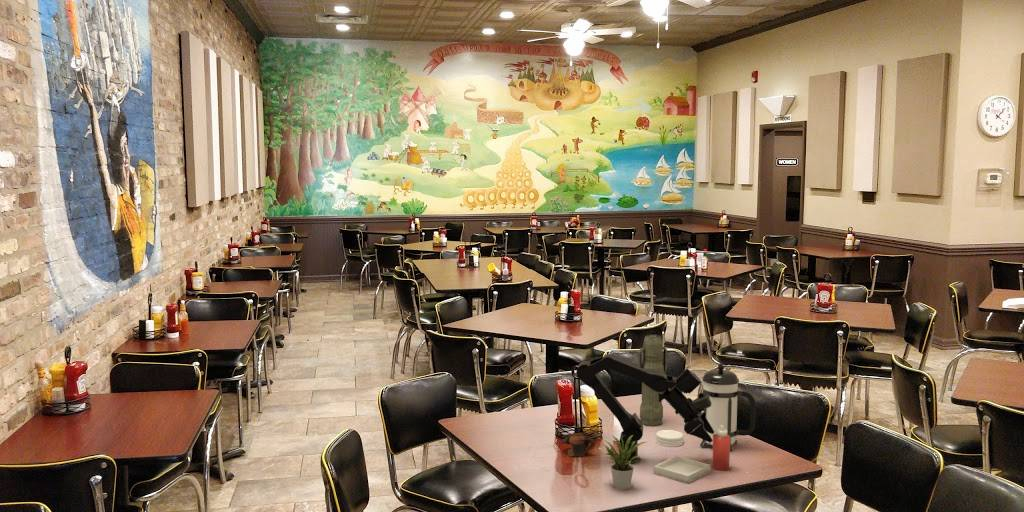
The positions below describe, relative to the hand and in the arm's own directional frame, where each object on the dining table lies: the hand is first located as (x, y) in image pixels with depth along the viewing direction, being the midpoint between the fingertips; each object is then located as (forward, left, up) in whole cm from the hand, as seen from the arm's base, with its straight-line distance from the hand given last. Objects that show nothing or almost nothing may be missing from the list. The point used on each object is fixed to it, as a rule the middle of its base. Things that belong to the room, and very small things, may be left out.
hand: (712, 437), depth 281 cm
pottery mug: (-20, +41, -11) cm, 47 cm away
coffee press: (+22, +8, -10) cm, 26 cm away
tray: (-12, +4, -10) cm, 16 cm away
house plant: (-34, +11, -10) cm, 37 cm away
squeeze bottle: (+1, -3, -10) cm, 11 cm away
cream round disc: (+12, +24, -11) cm, 29 cm away
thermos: (+27, +42, -10) cm, 51 cm away
